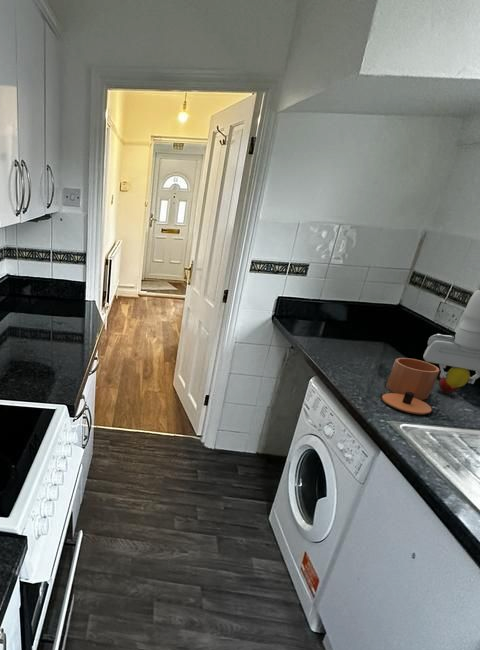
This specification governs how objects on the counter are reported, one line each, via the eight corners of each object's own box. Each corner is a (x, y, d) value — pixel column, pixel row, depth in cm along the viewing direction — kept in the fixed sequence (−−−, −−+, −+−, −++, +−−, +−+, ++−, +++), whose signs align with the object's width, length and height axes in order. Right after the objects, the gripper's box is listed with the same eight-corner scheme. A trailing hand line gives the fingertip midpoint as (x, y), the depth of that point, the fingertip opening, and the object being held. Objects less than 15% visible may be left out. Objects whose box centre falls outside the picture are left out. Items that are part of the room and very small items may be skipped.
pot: (426, 390, 151) (437, 363, 146) (429, 403, 141) (441, 375, 136) (385, 380, 156) (395, 355, 152) (386, 392, 147) (396, 365, 142)
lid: (428, 403, 140) (433, 391, 138) (432, 420, 129) (438, 407, 128) (381, 392, 147) (385, 380, 145) (381, 407, 136) (386, 394, 134)
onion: (437, 387, 153) (447, 368, 149) (456, 394, 149) (466, 374, 146) (433, 391, 149) (442, 371, 146) (452, 398, 145) (462, 378, 142)
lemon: (446, 390, 131) (457, 367, 128) (438, 382, 136) (448, 360, 133) (466, 393, 130) (478, 370, 127) (457, 385, 135) (468, 363, 132)
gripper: (432, 335, 129) (417, 375, 134) (519, 349, 119) (499, 392, 124) (430, 330, 134) (415, 369, 139) (514, 343, 124) (495, 385, 129)
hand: (456, 380), depth 132 cm, fingers closed on lemon, 5 cm apart
